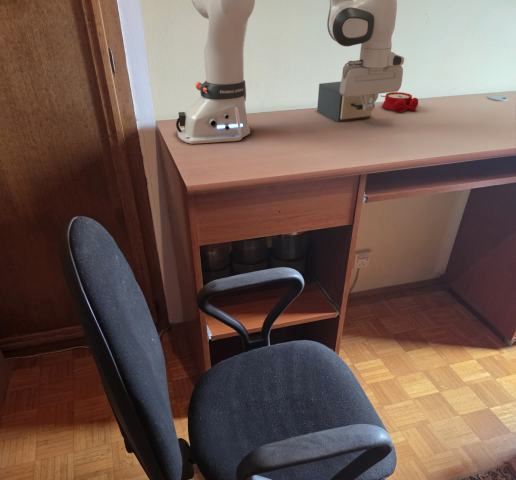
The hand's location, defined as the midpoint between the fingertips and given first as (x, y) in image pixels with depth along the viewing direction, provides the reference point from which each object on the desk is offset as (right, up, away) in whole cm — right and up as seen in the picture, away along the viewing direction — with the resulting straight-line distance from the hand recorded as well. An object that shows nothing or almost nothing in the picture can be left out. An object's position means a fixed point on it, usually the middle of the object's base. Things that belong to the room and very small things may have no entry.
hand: (367, 109), depth 143 cm
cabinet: (-5, +5, +13) cm, 15 cm away
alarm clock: (+16, +9, +18) cm, 26 cm away
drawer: (-4, +3, +9) cm, 11 cm away
